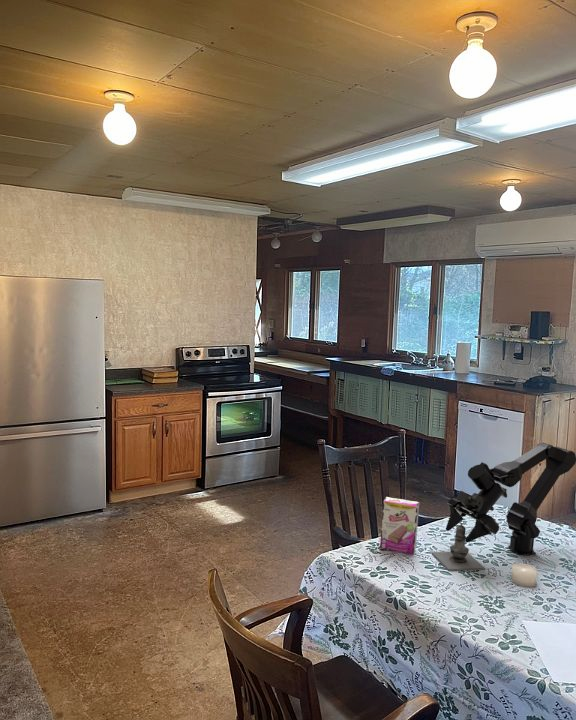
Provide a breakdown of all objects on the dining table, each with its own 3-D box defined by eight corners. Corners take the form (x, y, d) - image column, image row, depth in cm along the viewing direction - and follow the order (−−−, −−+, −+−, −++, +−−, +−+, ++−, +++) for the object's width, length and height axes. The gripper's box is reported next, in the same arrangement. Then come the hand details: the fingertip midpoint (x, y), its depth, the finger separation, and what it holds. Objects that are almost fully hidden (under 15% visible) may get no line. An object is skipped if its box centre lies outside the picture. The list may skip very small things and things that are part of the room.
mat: (466, 552, 191) (466, 551, 191) (484, 569, 180) (484, 567, 179) (431, 553, 189) (431, 552, 189) (448, 570, 177) (448, 569, 177)
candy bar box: (379, 549, 191) (382, 500, 189) (382, 543, 195) (385, 496, 194) (414, 555, 187) (417, 506, 185) (416, 549, 192) (419, 501, 190)
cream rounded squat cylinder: (527, 575, 177) (528, 562, 177) (541, 586, 170) (542, 573, 170) (506, 576, 176) (507, 563, 176) (519, 587, 169) (520, 574, 169)
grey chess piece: (453, 564, 181) (456, 526, 180) (445, 555, 187) (448, 519, 186) (471, 563, 182) (474, 526, 181) (462, 555, 188) (465, 519, 187)
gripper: (454, 473, 192) (424, 509, 189) (495, 491, 175) (462, 531, 172) (471, 495, 196) (442, 530, 193) (513, 514, 179) (481, 553, 175)
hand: (456, 535), depth 183 cm, fingers open, 9 cm apart
